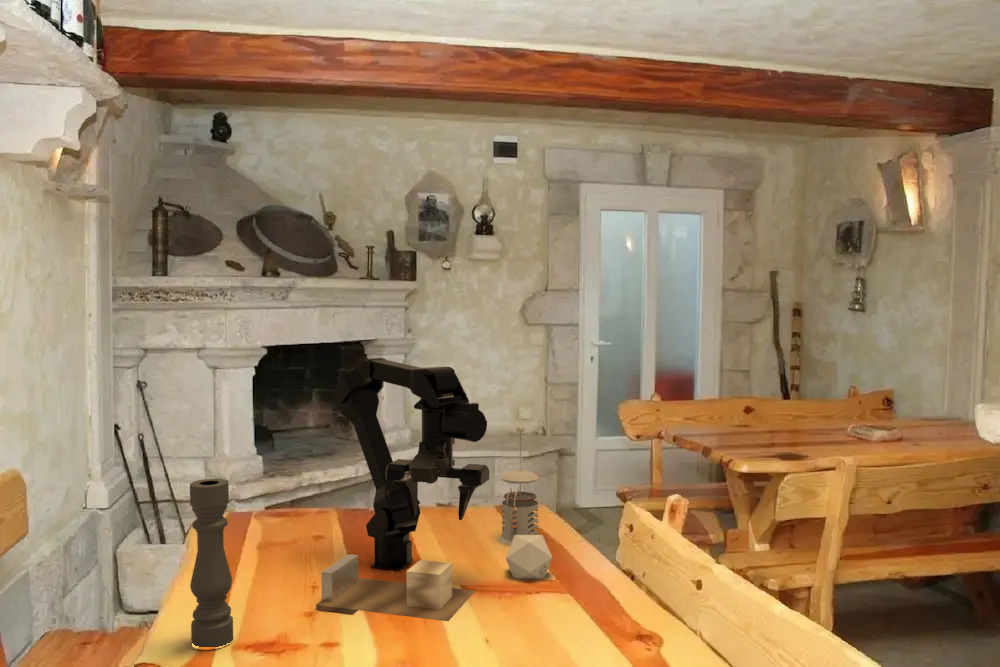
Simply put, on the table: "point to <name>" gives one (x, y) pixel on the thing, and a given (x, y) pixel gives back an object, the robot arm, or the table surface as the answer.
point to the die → (529, 557)
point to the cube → (429, 584)
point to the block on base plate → (376, 594)
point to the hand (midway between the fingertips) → (437, 517)
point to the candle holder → (210, 565)
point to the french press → (518, 505)
